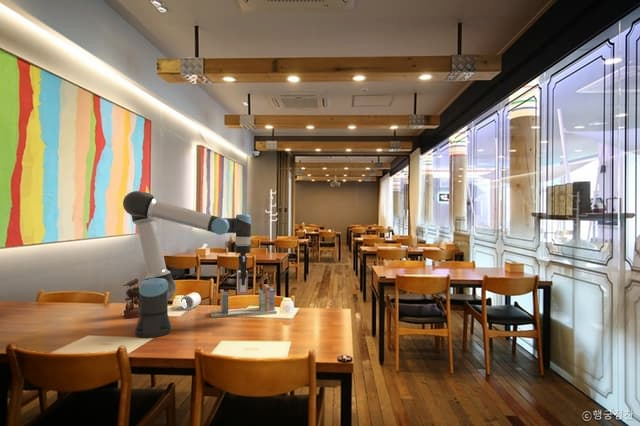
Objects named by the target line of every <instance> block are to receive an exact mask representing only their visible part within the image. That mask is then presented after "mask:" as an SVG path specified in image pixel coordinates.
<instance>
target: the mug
mask: <svg viewBox="0 0 640 426" xmlns="http://www.w3.org/2000/svg"><path fill="white" fill-rule="evenodd" d="M180 299H181V302H182V300H183V299H185V300H186V303H187V307H186V308H185V309H186V310H185V309H184V310H185V311H189V310H191V309H193V308H195V307H197V306H199V304H201V301H202V297H201V295H200V294H199V293H198V292H194V291H193V292H190V293H188V294H187V295H184V296H183V297H181V298H180Z"/></svg>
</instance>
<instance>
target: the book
mask: <svg viewBox="0 0 640 426" xmlns="http://www.w3.org/2000/svg"><path fill="white" fill-rule="evenodd" d="M246 276H247V277H246V292H240V279H239V277H241V270H239V269H237V270H236V293H237V295H238V296H245V295H246V296H247V295H248V292H249V291H248V288H249V287H248V286H249V285H248V284H249V282H248V281H249V271H248V270H247V269H246Z"/></svg>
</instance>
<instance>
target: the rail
mask: <svg viewBox="0 0 640 426" xmlns="http://www.w3.org/2000/svg"><path fill="white" fill-rule="evenodd" d="M275 294H276V293H275V289H274V288H273V287H271V286H270V285H269V284H263V289H259V290H258V307H248V308H247V307H246V308H232V309H229V308H228V314H222V309H217V310H216V309H215V310H210V318H211V319H217V318H218V319H219V318H230V317H232V318H234V317H247V316H258V315H259V314H263V315H273V314H274V315H275V314H276V313H278V311H277V310H276V308H275ZM259 316H260V315H259Z"/></svg>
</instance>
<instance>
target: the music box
mask: <svg viewBox="0 0 640 426" xmlns="http://www.w3.org/2000/svg"><path fill="white" fill-rule="evenodd" d="M139 281H140V280H139V278H138V277H137V278H134V279H131V280H130V281H129V282H127V283H126V284H123V285H122V286H123V287H127V288H126V289H127V290H126V293H125V295H126V296H127V297H125V298H124V300H125V301H127V302H126V304H125V307H124V308H125V309H124V310H123V318H124V319H130V320H131V319H132V320H133V319H139V297H140V293H139V288H140V285H139ZM132 286H133V288H132ZM128 301H129V302H128ZM135 305H136V306H135Z"/></svg>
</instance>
